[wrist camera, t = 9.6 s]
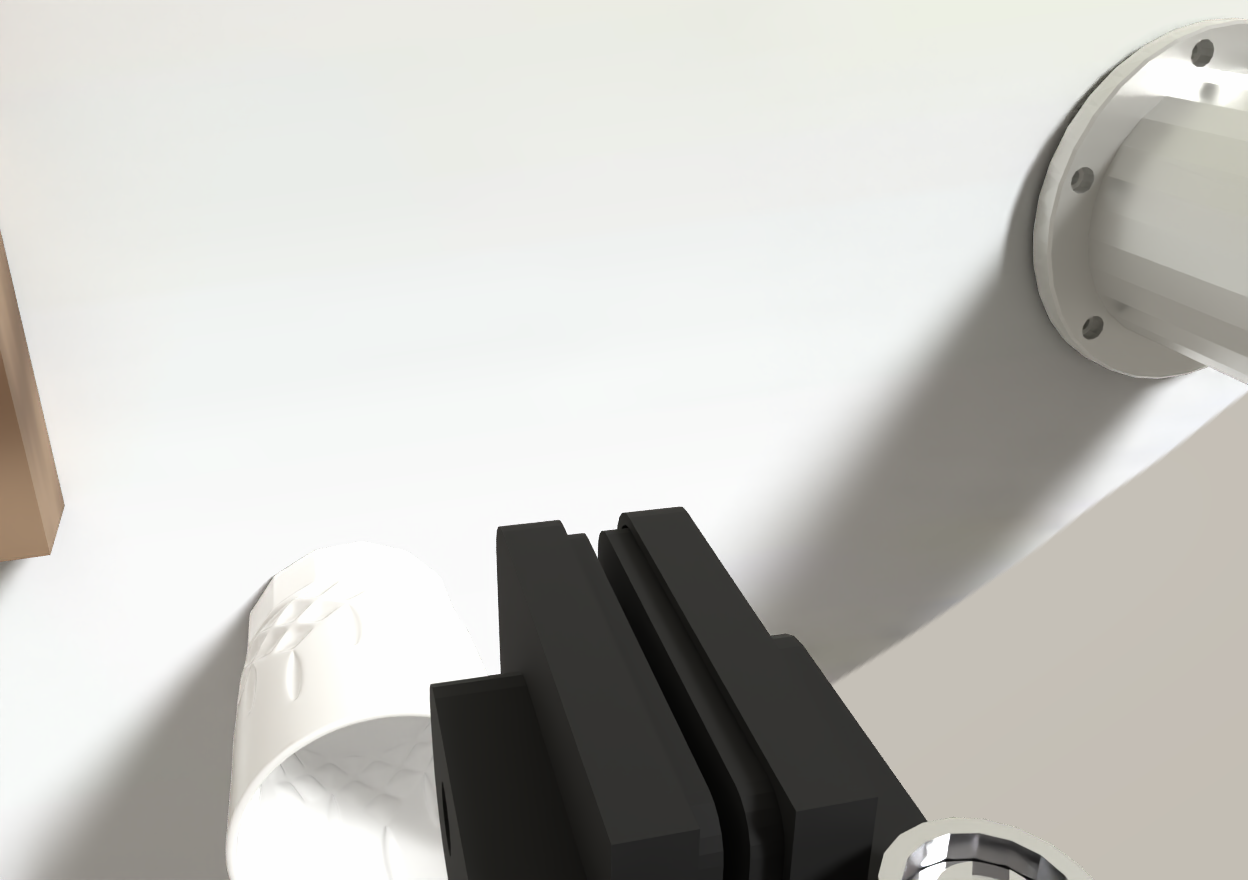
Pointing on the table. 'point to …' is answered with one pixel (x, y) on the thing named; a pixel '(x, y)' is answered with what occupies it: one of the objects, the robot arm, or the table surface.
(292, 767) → the white cup
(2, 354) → the button board
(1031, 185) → the table surface
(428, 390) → the table surface
